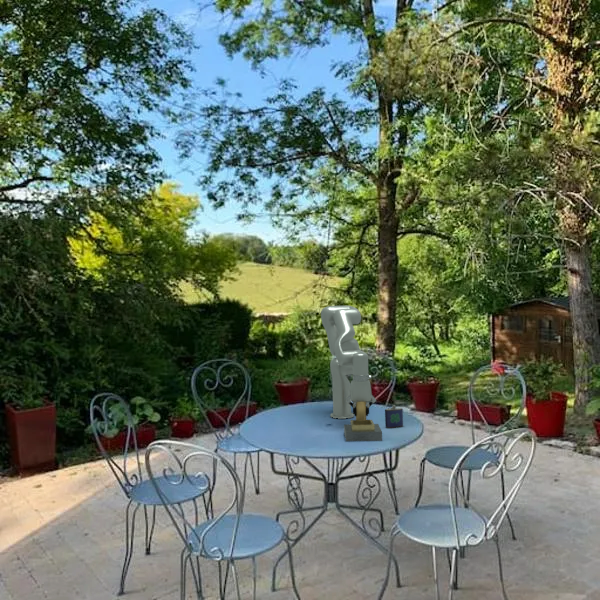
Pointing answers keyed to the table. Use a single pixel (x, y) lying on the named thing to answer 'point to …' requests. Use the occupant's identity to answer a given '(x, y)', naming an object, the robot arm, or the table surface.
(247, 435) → the table surface
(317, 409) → the table surface
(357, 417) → the cylinder
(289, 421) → the table surface
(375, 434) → the grey square socket base
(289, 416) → the table surface
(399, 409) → the wallet
